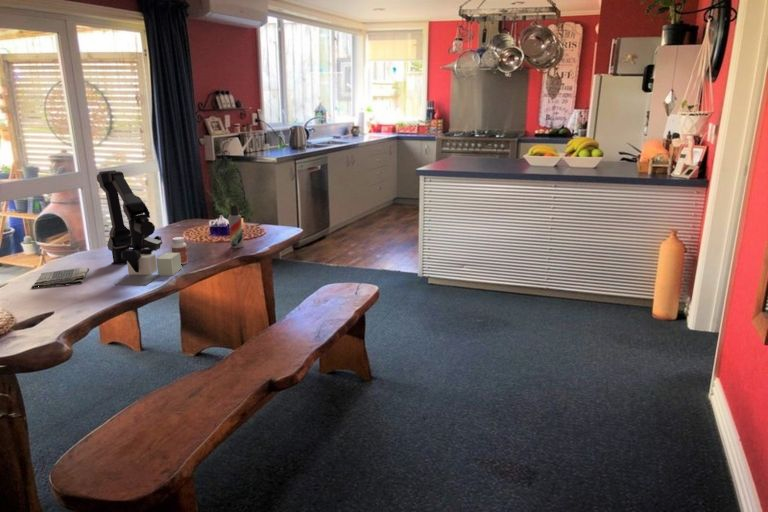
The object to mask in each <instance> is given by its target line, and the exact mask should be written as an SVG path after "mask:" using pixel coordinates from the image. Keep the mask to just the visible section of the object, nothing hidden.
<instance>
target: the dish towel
mask: <svg viewBox="0 0 768 512" xmlns="http://www.w3.org/2000/svg"><path fill="white" fill-rule="evenodd" d="M89 271H90V268H89V267H77V268H70V269H62V270H57V271H56V270H55V271H47V272H41V273H40V276H39V277H38V279H37V280H36V281H35V282H34V284H32V286H31V289H32V288H33V289H35V288H34V287H38V286H39V287H44V288H51V286H54V287H57V286H56V285H64V286H67V285H66V284H73V285H78V283H79V285H80V284H81V285H82V284H83V283H84V281H85V279H86V278H87V275H88V273H89Z"/></svg>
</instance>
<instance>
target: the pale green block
mask: <svg viewBox="0 0 768 512" xmlns="http://www.w3.org/2000/svg"><path fill="white" fill-rule="evenodd" d="M182 265H183V264H182ZM182 265H181V256H180V253H172V252H165V253H163V254H161V255H160V256H158V257H156V266H157V275H160V276H170V277H171V276H172V275H173V276H174V275H176V274H178V273H179V272H180V271H181V270H182V269H183V267H182ZM180 269H181V270H180ZM179 270H180V271H179ZM175 273H176V274H175Z"/></svg>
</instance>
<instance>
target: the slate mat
mask: <svg viewBox="0 0 768 512" xmlns="http://www.w3.org/2000/svg"><path fill="white" fill-rule="evenodd" d="M160 276H161V275H158V274H151V275H132V274H131V275H129V274H128V276H127V277H125V278H123V279H122V280H120V281H117V283H115V286H148V285H149V284H150V283H152V282H153V281H155V280H156V279H158V278H159V277H160Z"/></svg>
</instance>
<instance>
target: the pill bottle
mask: <svg viewBox="0 0 768 512" xmlns="http://www.w3.org/2000/svg"><path fill="white" fill-rule="evenodd" d="M171 242H172V244H171V245H170V249H171V253H180V256H181V264H182V265H186V264H188V263H189V257H188V247H187V243H186V242H185V237H183V236H176V237H173V238H172V241H171Z"/></svg>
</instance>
